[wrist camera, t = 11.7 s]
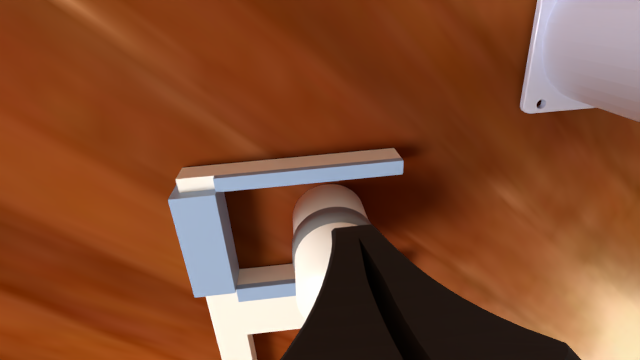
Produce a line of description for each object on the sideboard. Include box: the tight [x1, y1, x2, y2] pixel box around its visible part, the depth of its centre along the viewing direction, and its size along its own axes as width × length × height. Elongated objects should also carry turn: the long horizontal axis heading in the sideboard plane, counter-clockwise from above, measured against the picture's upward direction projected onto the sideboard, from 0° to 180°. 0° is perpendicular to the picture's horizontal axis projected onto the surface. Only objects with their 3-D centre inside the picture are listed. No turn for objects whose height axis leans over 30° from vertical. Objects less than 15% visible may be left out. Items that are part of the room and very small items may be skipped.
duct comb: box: [168, 148, 403, 360], centre depth 25 cm, size 12×19×2 cm, turn 4°
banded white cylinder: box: [292, 184, 371, 319], centre depth 20 cm, size 5×5×7 cm
